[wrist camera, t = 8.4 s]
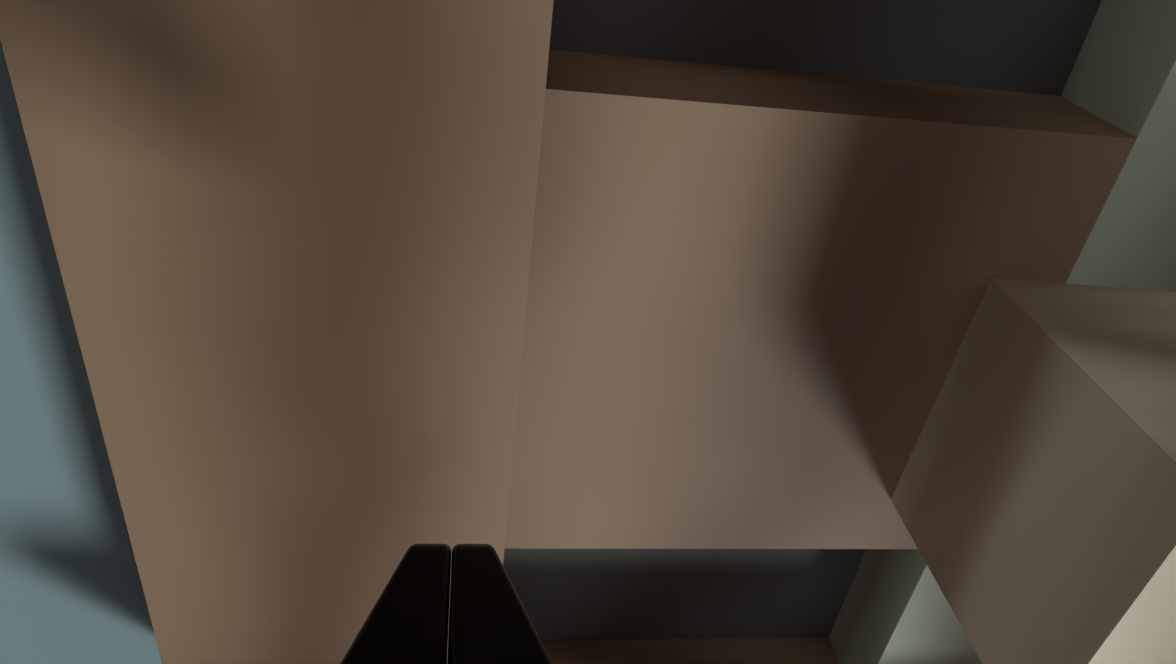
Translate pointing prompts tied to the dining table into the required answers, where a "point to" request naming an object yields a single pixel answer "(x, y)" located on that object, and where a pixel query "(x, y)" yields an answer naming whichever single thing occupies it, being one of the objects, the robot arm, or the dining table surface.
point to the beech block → (1055, 476)
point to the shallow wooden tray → (567, 293)
